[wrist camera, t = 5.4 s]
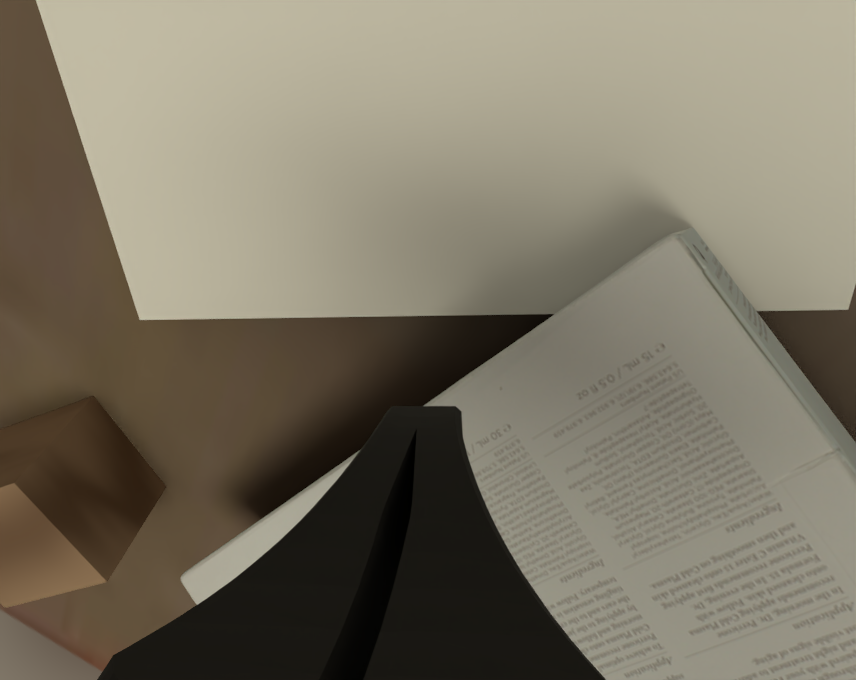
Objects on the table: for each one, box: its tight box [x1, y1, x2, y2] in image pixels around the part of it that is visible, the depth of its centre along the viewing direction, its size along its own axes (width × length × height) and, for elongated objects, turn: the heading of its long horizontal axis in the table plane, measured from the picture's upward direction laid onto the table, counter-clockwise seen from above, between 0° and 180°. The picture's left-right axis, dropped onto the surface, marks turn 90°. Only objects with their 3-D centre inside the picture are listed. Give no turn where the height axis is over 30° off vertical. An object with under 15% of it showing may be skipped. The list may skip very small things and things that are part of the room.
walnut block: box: [0, 396, 166, 608], centre depth 26 cm, size 5×5×5 cm
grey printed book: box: [181, 227, 856, 680], centre depth 21 cm, size 21×5×16 cm
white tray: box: [36, 0, 856, 320], centre depth 17 cm, size 17×23×2 cm
